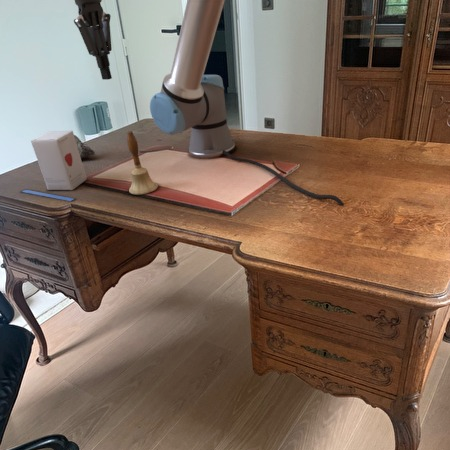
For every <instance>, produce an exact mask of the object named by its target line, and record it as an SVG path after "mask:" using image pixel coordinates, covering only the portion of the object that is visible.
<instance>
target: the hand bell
mask: <svg viewBox="0 0 450 450" xmlns="http://www.w3.org/2000/svg"><path fill="white" fill-rule="evenodd" d="M126 143H127V147H128V149H129V152H130V154H131V156H132V159H133V165H134V169H133V170H132V171H131V185H130V187H129V189H128V191H129V192H128V193H129V194H130V195H134V196H135V195H136V196H140V195H141V196H142V195H147V194H150V193H152V192H154V191H156V190H157V189H158V187H159V185H158V183H157V182H155V181H154V180H153V179H152V178H151V176H150V174H149V171H148V169H147V168H146V167H143V166H142V164H141V161H140V156H139V144H138V141H137V138H136V136H135V134H134V133H133V131H132V130H129V131H127V133H126Z"/></svg>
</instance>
